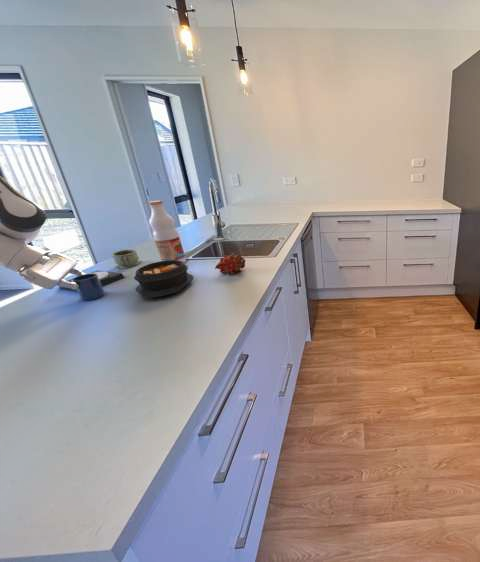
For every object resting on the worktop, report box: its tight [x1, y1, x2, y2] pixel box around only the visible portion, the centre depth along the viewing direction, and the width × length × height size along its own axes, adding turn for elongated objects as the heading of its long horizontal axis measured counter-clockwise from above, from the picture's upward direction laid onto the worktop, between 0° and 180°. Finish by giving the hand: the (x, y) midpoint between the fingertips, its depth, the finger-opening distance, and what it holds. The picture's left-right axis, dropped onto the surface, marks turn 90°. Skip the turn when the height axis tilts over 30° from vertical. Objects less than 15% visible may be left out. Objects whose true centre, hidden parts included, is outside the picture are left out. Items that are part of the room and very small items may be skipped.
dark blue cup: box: [71, 273, 106, 301], centre depth 106 cm, size 6×6×8 cm
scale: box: [58, 269, 124, 292], centre depth 118 cm, size 14×14×3 cm
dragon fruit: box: [214, 253, 246, 275], centre depth 125 cm, size 8×8×12 cm
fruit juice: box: [148, 200, 187, 264], centre depth 132 cm, size 9×9×28 cm
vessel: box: [111, 248, 140, 269], centre depth 136 cm, size 12×9×6 cm
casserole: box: [133, 260, 194, 299], centre depth 112 cm, size 25×19×8 cm
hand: (82, 282), depth 105 cm, fingers open, 8 cm apart
